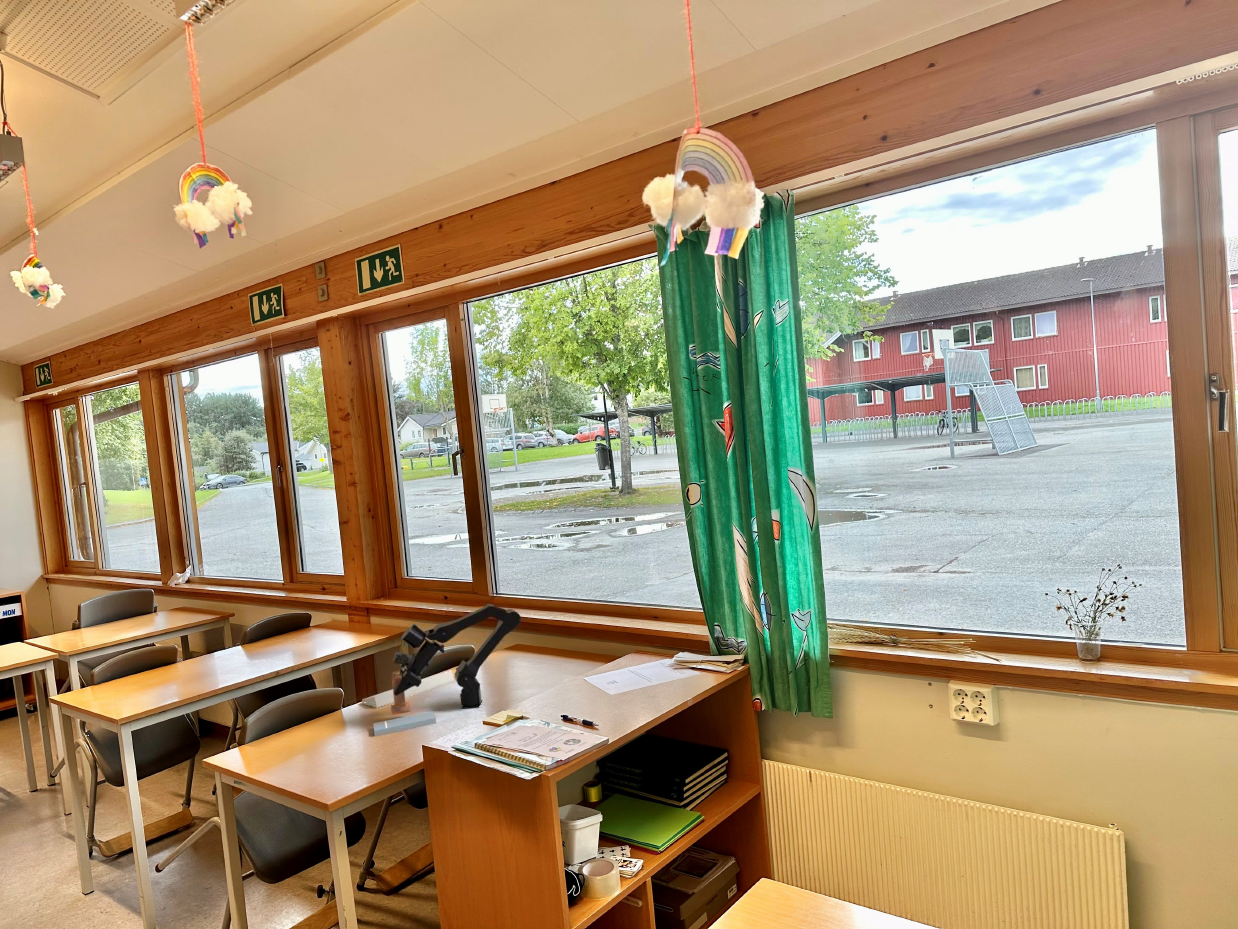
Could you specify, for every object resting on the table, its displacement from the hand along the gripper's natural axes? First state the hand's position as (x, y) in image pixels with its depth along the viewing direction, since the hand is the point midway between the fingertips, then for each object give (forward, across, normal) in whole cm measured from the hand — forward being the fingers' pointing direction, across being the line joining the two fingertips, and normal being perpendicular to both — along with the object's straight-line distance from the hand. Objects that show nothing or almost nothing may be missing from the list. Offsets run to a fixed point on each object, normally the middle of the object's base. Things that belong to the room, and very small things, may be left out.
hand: (394, 693), depth 266 cm
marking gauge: (+4, 0, +6) cm, 7 cm away
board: (+6, +7, +8) cm, 12 cm away
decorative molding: (+3, -32, +12) cm, 34 cm away
